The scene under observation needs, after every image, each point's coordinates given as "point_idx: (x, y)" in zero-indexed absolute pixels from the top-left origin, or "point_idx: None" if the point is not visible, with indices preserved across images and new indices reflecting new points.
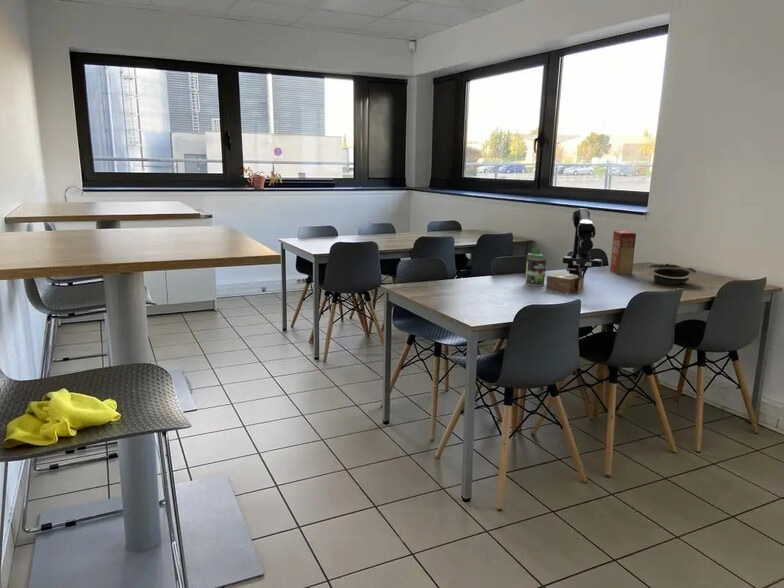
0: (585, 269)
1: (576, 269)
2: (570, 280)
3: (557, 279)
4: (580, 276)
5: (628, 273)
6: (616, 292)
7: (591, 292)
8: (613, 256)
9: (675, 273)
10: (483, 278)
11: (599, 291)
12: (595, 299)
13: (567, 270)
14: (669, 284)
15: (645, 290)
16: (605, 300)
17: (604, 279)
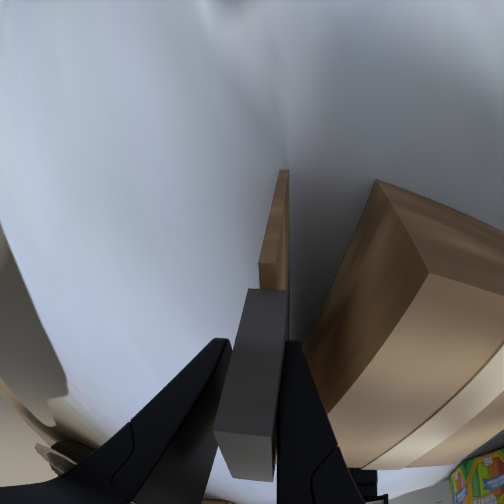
0: (91, 481)
1: (355, 501)
2: (424, 266)
3: None
4: (242, 342)
5: (203, 501)
6: (103, 361)
7: (207, 322)
8: None
9: None
10: None
11: (176, 360)
12: (96, 96)
13: (386, 496)
14: (76, 443)
15: (67, 402)
16: (39, 121)
17: (241, 482)
